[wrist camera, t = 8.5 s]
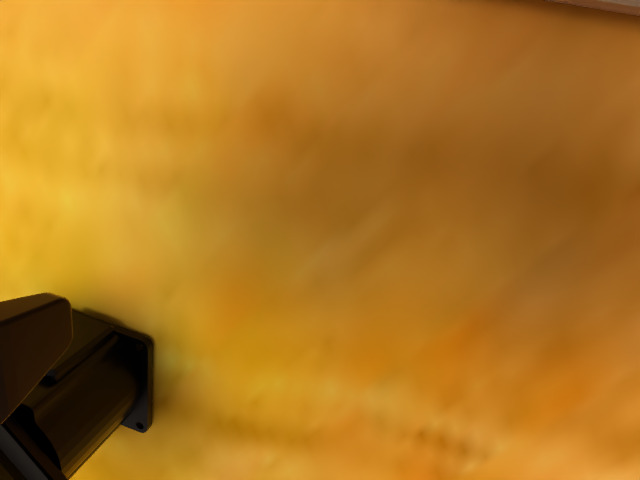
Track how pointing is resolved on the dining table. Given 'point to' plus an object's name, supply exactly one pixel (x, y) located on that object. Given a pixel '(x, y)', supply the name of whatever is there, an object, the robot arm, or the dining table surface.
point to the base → (607, 5)
